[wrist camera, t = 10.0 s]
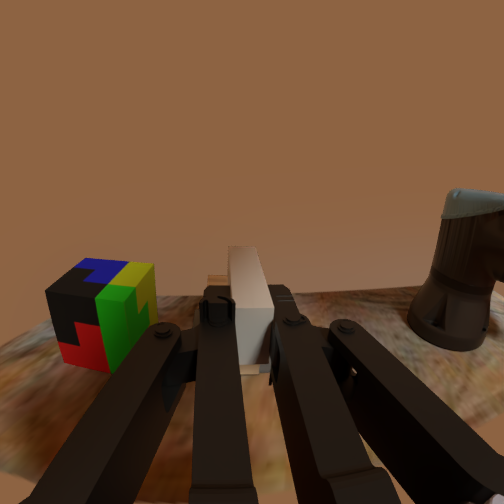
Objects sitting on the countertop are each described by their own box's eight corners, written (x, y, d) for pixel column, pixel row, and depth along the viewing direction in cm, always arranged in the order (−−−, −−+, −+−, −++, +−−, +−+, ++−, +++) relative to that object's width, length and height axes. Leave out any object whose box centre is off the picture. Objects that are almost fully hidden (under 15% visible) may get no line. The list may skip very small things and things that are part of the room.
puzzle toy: (95, 322, 41) (85, 257, 38) (159, 331, 41) (154, 263, 38) (64, 363, 32) (44, 290, 28) (137, 378, 32) (124, 302, 28)
